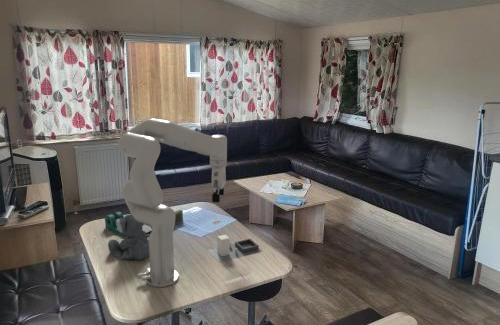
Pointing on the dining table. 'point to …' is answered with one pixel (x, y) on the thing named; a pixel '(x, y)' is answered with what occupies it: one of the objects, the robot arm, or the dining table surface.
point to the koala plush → (130, 240)
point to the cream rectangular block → (223, 245)
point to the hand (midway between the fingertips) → (218, 198)
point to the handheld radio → (177, 218)
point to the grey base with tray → (237, 250)
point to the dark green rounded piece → (113, 222)
